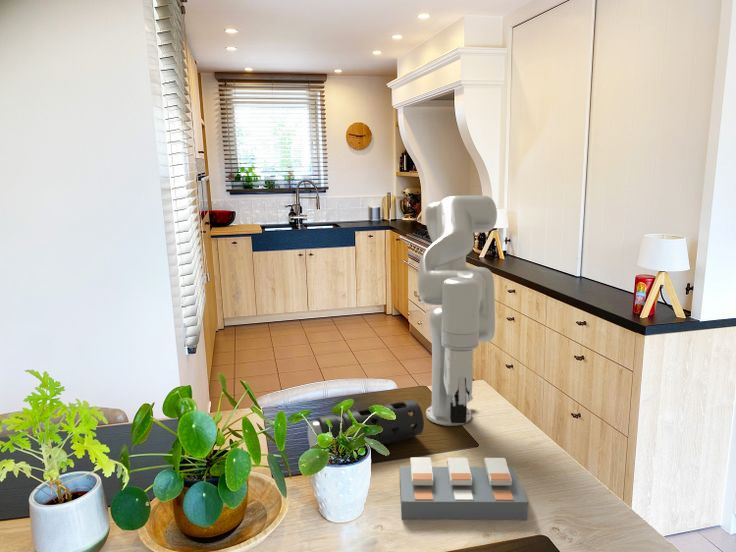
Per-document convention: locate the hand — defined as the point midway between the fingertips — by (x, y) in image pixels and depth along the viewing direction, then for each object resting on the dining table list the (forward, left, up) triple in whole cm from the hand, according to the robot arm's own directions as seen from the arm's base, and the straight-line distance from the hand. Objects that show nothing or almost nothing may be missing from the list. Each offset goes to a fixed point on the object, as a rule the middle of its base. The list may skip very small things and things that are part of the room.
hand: (458, 421), depth 118 cm
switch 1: (+6, -5, -12) cm, 15 cm away
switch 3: (-4, +7, -12) cm, 15 cm away
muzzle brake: (-2, -28, -17) cm, 32 cm away
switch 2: (+1, +1, -12) cm, 12 cm away
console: (+2, +2, -17) cm, 17 cm away
